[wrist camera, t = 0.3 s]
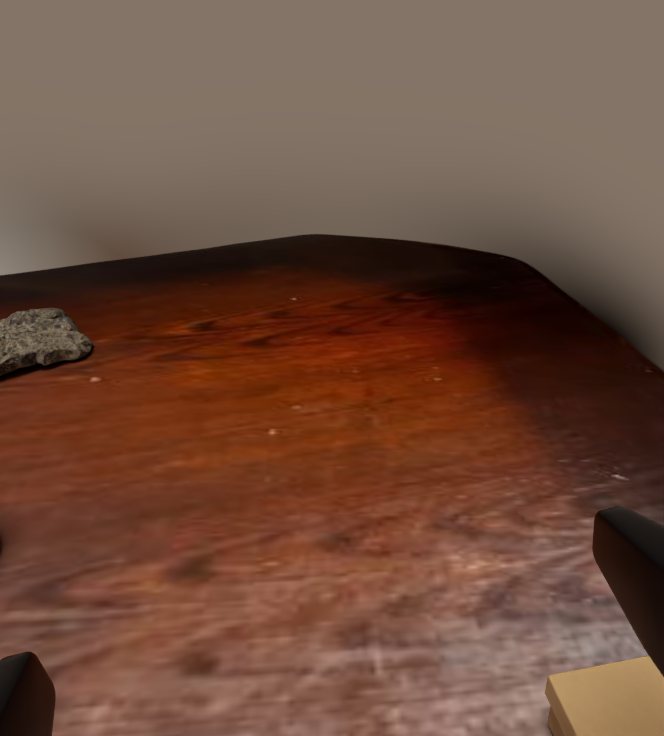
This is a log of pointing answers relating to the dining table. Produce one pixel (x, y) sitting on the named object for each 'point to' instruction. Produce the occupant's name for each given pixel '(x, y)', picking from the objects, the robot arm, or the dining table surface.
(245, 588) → the dining table surface
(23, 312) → the stone slab
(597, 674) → the stand
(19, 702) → the robot arm
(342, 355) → the dining table surface
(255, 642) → the dining table surface
